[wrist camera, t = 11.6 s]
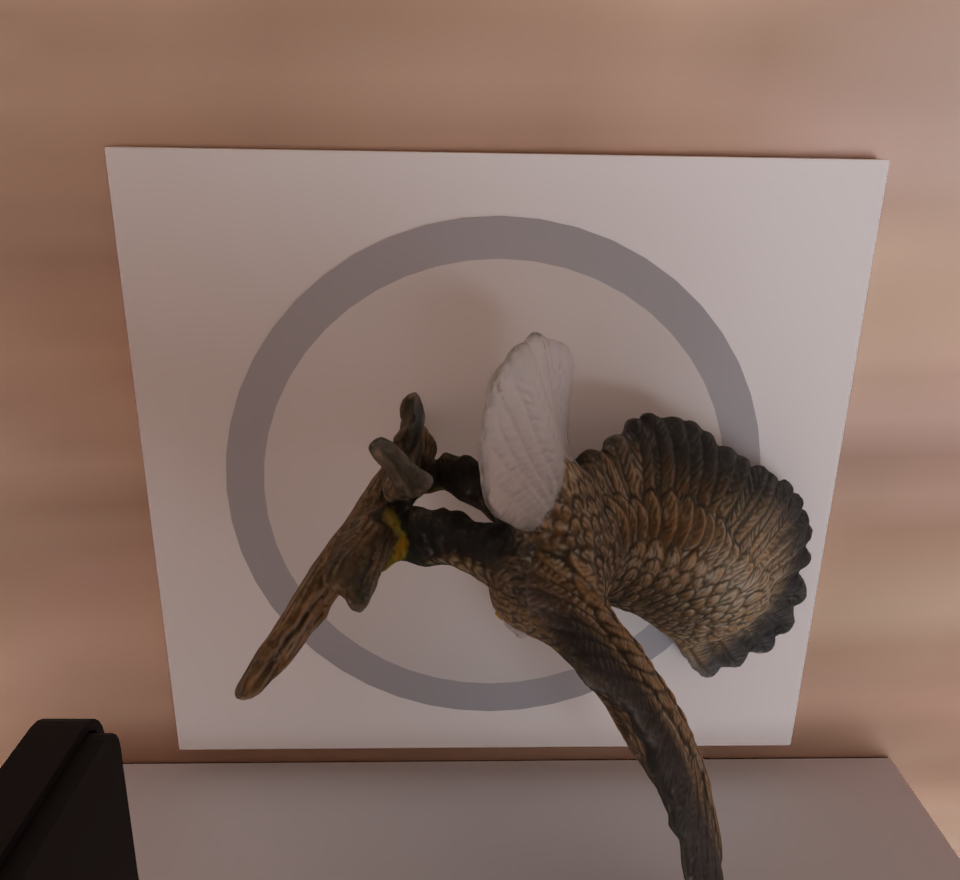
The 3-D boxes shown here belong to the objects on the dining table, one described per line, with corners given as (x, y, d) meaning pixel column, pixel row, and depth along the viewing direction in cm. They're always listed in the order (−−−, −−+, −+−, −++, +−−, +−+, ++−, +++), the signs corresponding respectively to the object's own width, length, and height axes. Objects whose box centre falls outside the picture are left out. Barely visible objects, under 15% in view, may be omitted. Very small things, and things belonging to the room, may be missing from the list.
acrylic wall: (889, 757, 20) (994, 910, 16) (882, 793, 20) (982, 950, 16) (70, 764, 19) (-24, 924, 15) (77, 801, 19) (-13, 966, 15)
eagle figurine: (254, 684, 16) (671, 918, 16) (190, 704, 9) (906, 1105, 10) (450, 354, 18) (818, 563, 19) (513, 176, 12) (1094, 509, 12)
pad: (879, 158, 15) (892, 160, 15) (783, 732, 19) (792, 748, 19) (113, 146, 15) (102, 147, 14) (185, 737, 19) (177, 753, 18)
